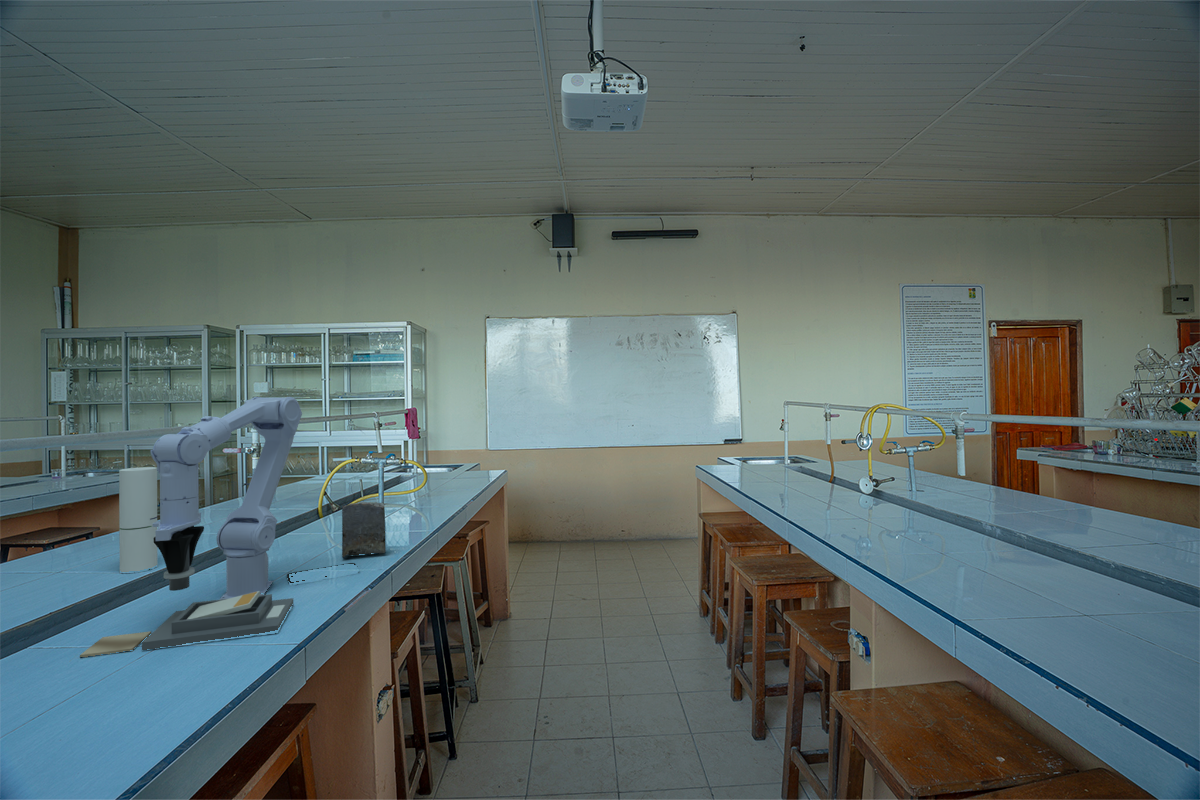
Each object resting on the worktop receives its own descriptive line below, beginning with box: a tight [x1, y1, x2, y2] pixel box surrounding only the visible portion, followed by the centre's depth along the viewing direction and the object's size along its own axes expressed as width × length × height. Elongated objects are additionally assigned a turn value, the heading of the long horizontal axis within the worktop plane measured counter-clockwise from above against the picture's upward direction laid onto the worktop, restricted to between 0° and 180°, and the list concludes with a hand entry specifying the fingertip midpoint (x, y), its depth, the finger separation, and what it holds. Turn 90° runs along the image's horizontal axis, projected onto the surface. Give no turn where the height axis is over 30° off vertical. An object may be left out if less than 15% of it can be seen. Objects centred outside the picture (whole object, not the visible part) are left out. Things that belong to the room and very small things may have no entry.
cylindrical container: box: [118, 466, 158, 572], centre depth 133 cm, size 7×7×25 cm
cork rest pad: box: [79, 630, 152, 658], centre depth 92 cm, size 7×7×1 cm
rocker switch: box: [187, 591, 260, 619], centre depth 100 cm, size 7×10×1 cm
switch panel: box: [141, 593, 294, 651], centre depth 100 cm, size 14×20×4 cm
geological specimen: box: [341, 501, 387, 558], centre depth 144 cm, size 11×6×15 cm, turn 114°
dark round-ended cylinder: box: [163, 546, 196, 592], centre depth 101 cm, size 5×5×9 cm
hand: (180, 569), depth 101 cm, fingers closed on dark round-ended cylinder, 3 cm apart
